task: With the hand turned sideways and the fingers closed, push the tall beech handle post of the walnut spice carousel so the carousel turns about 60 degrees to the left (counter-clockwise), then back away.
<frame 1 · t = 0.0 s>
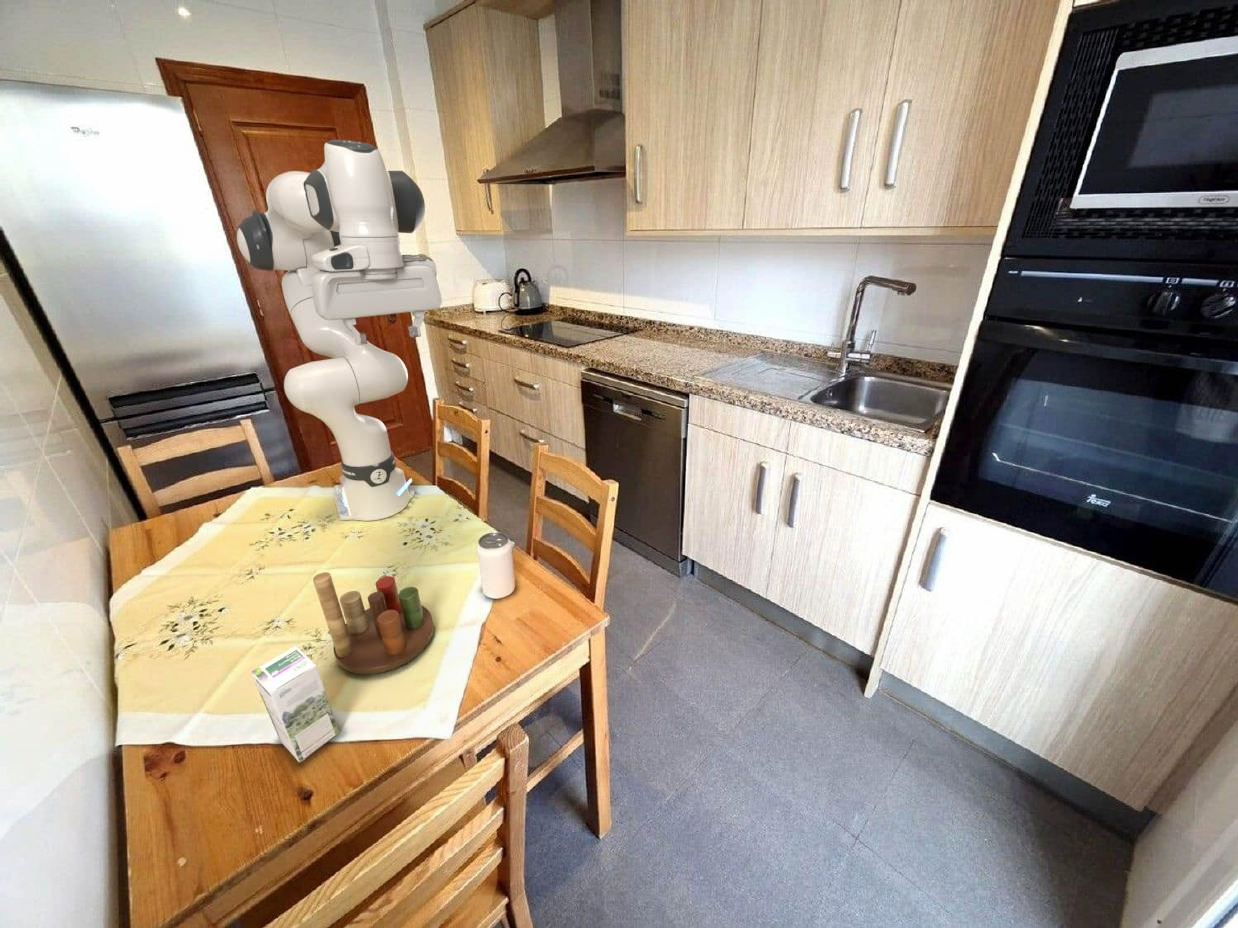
hand: (389, 340, 89), 48 cm above the table, tool pointing down, fingers open, 8 cm apart
carousel: (376, 600, 85), point 10 cm above the table, hinge at 0.0°
carousel base: (387, 642, 89), on the table
can: (499, 589, 102), on the table
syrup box: (311, 739, 72), on the table
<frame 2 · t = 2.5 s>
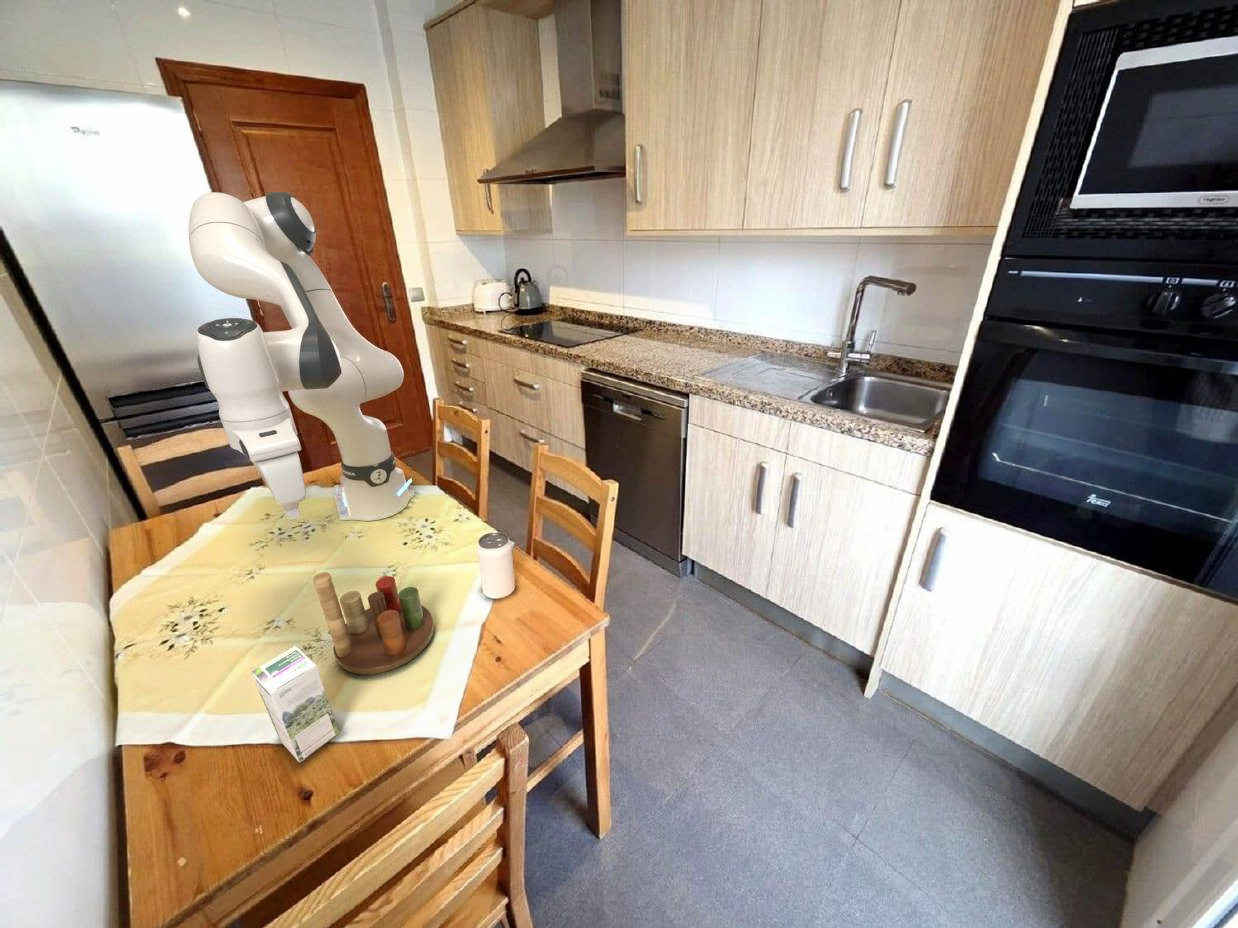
hand: (287, 506, 83), 24 cm above the table, tool pointing down, fingers open, 7 cm apart
nothing on the table moved.
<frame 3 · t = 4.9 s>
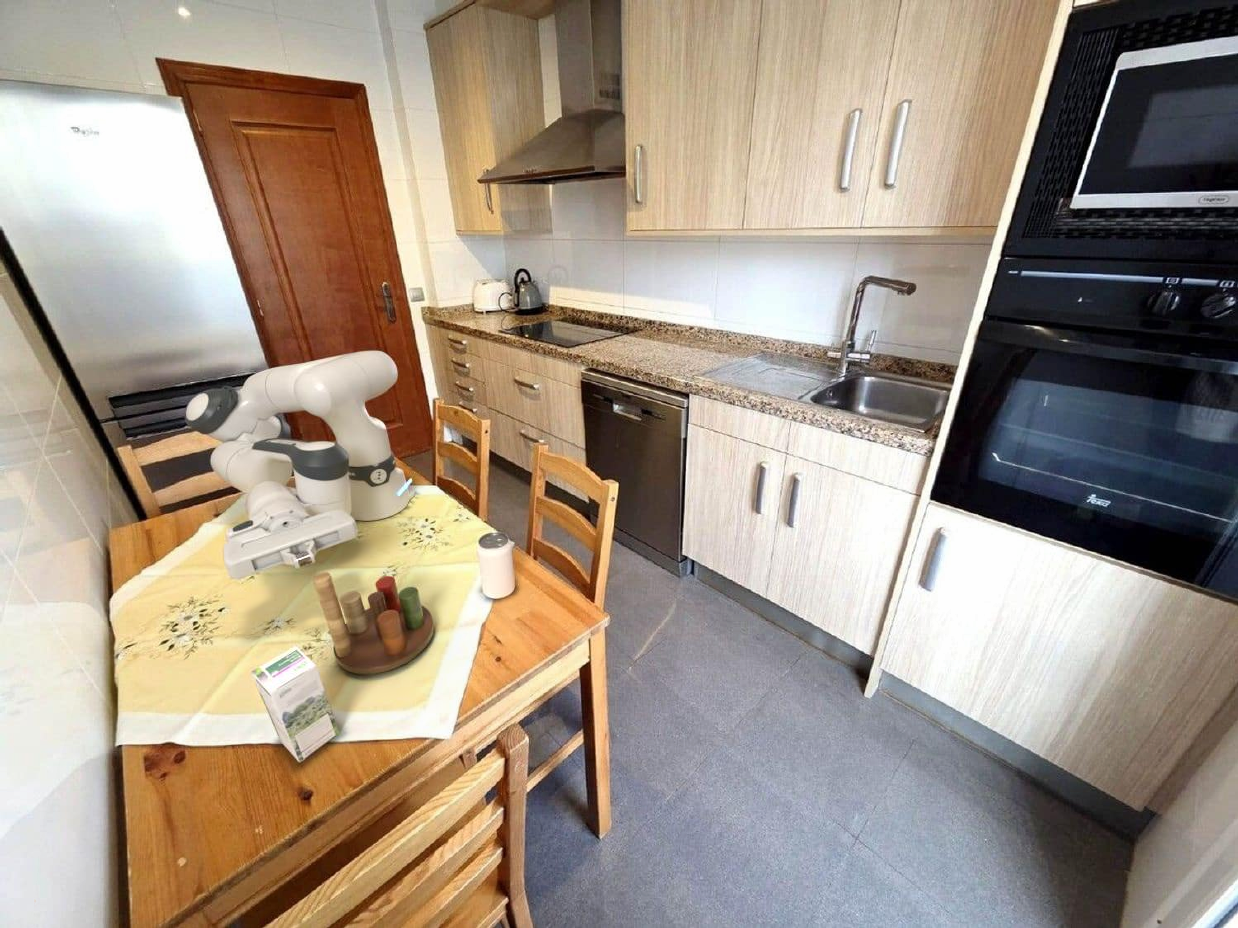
hand: (305, 562, 85), 15 cm above the table, tool horizontal, fingers closed
nothing on the table moved.
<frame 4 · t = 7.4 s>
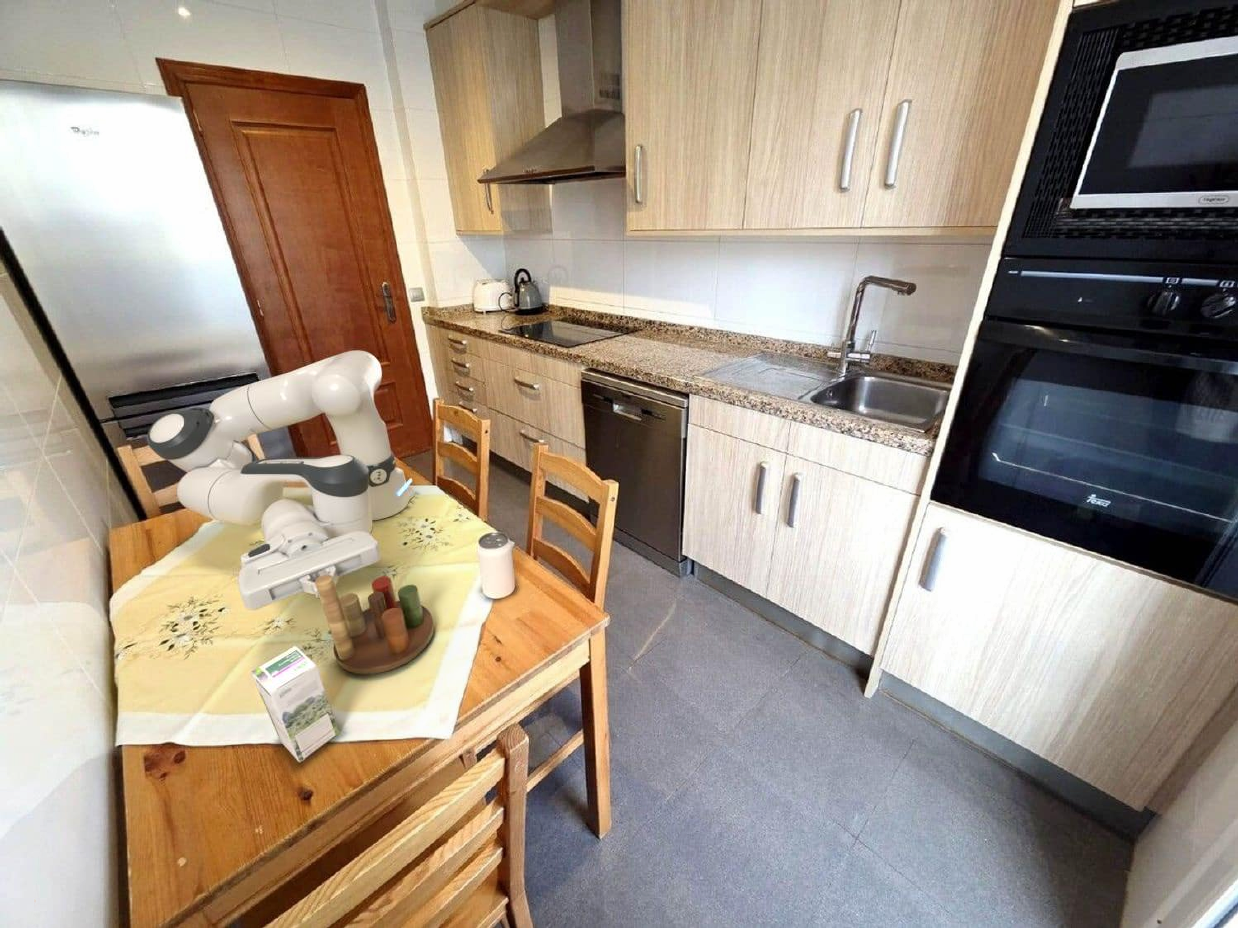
hand: (326, 591, 78), 15 cm above the table, tool horizontal, fingers closed, pressing on carousel
carousel: (376, 600, 85), point 10 cm above the table, hinge at 7.5°, touching gripper
everything else where it was.
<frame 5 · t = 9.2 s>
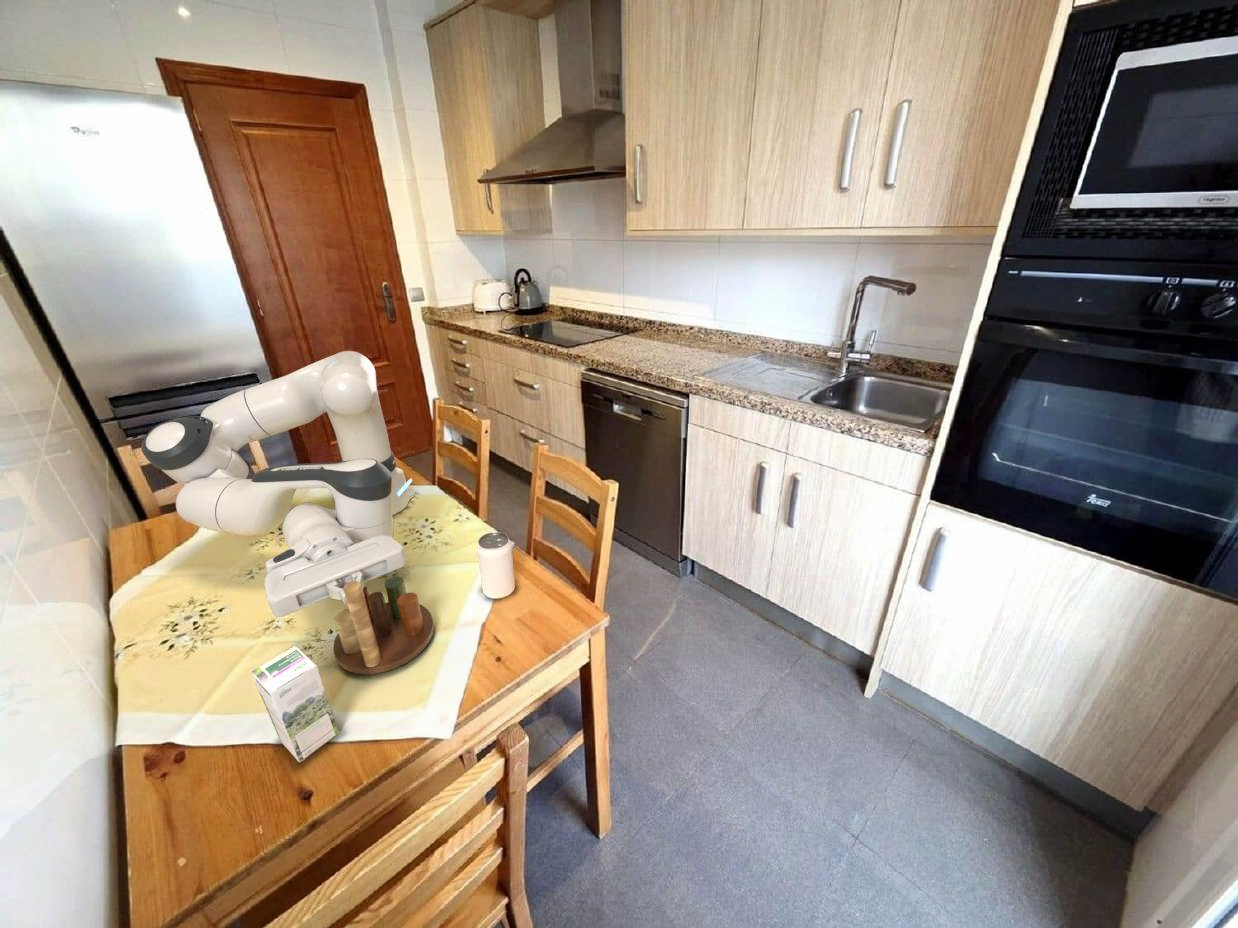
hand: (354, 597, 77), 15 cm above the table, tool horizontal, fingers closed
carousel: (376, 600, 85), point 10 cm above the table, hinge at 54.3°
everything else where it was.
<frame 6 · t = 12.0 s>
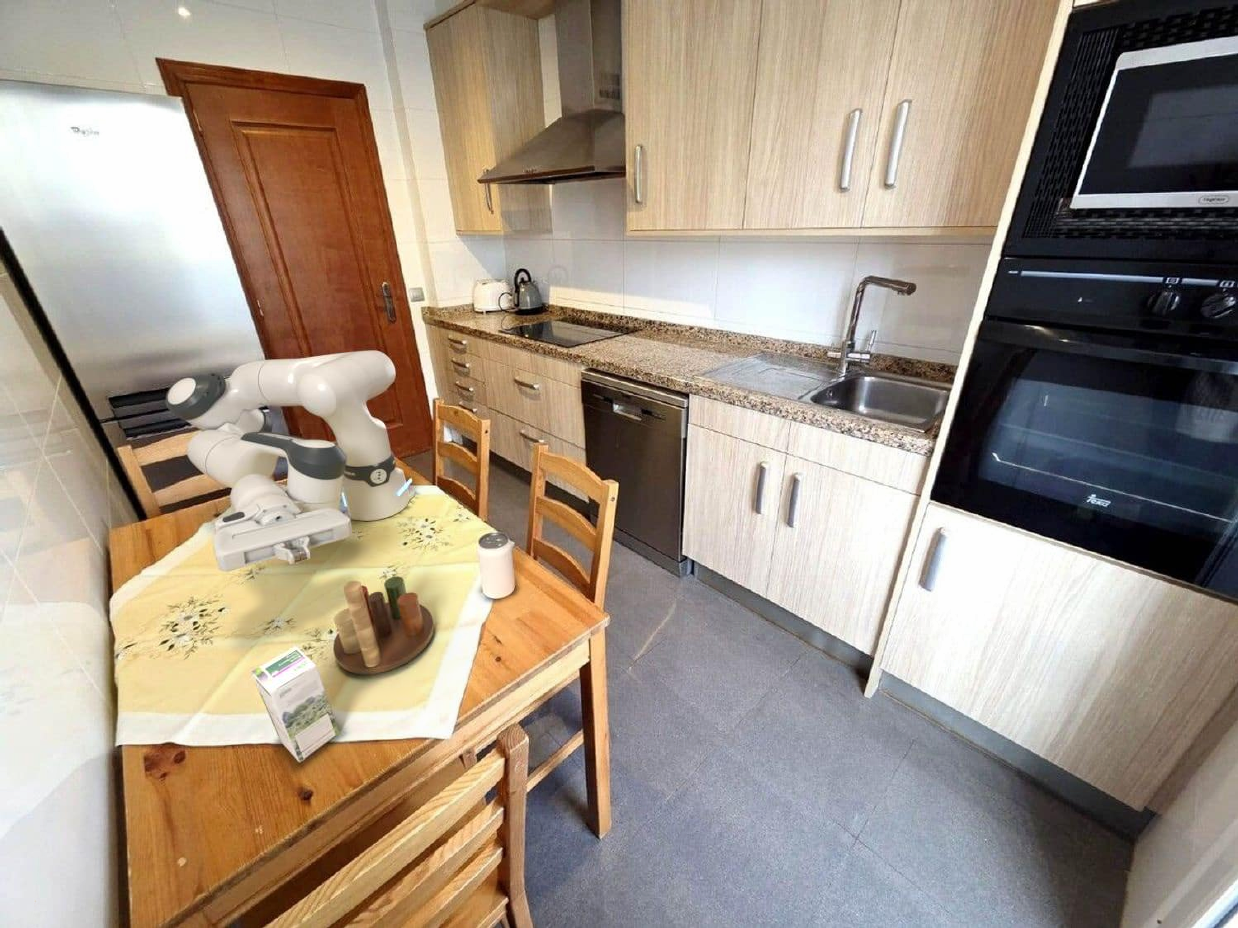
hand: (300, 558, 83), 16 cm above the table, tool horizontal, fingers closed
nothing on the table moved.
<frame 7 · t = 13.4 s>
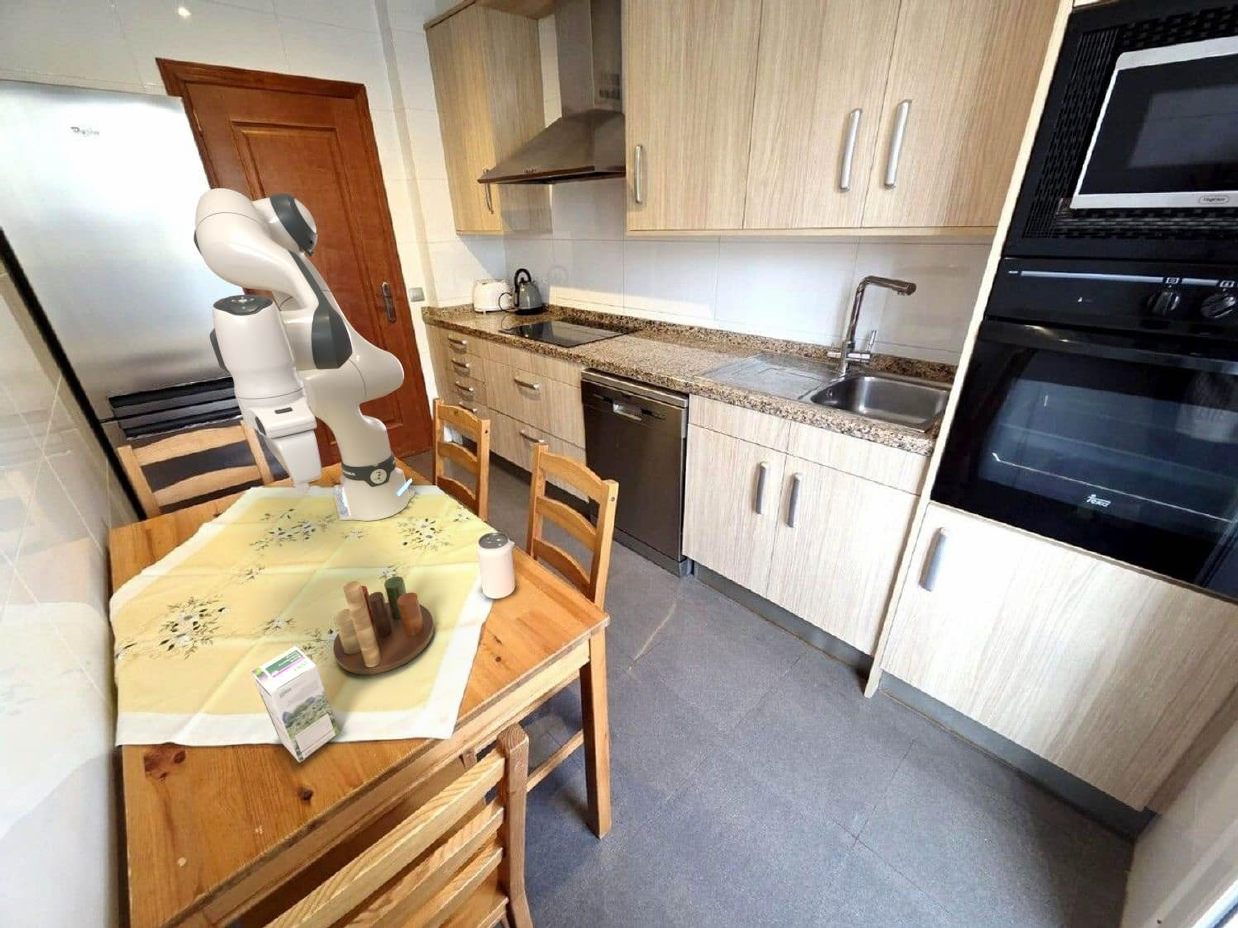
hand: (301, 487, 83), 27 cm above the table, tool pointing down, fingers closed
nothing on the table moved.
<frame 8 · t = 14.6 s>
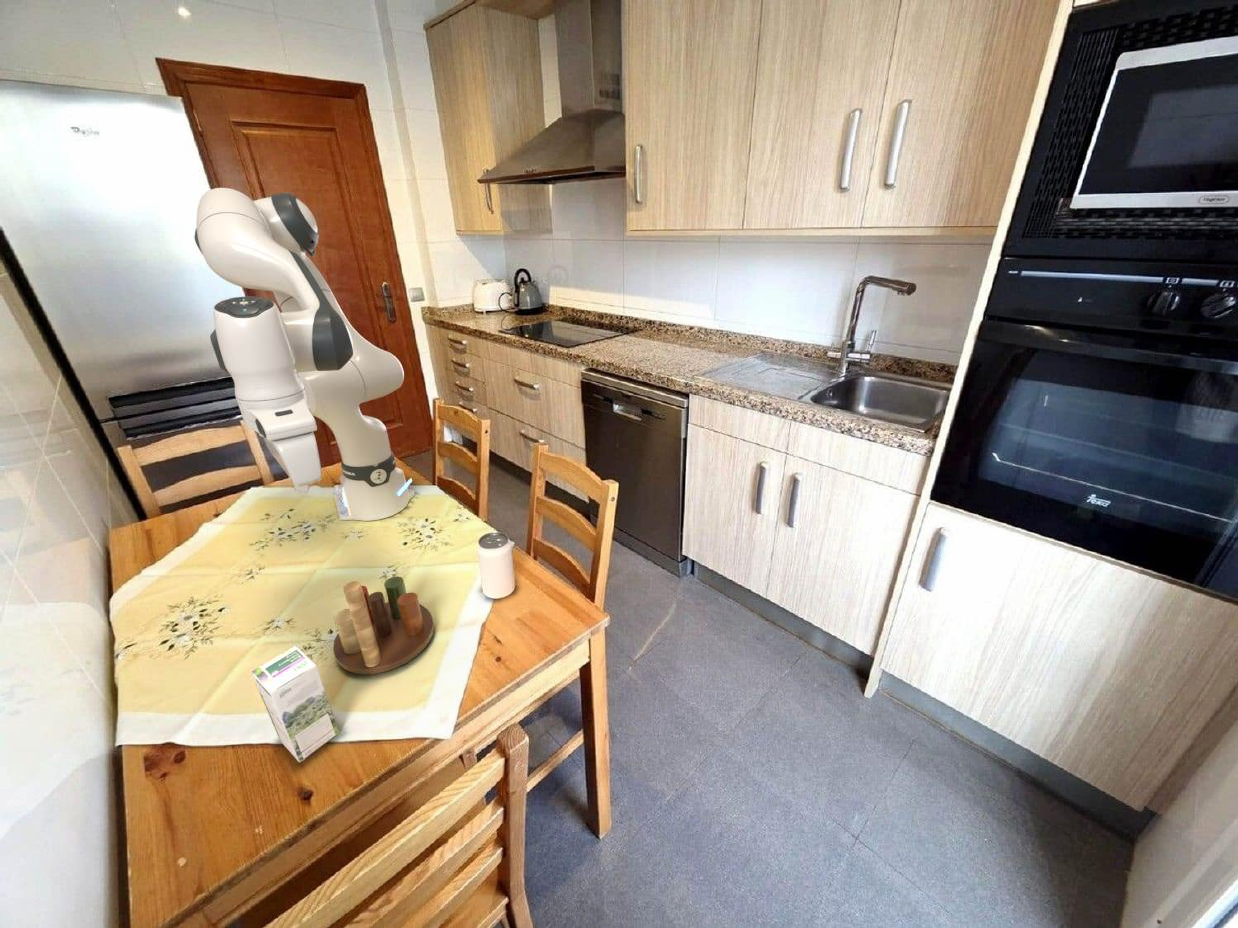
hand: (300, 489, 83), 27 cm above the table, tool pointing down, fingers closed
nothing on the table moved.
at the end: carousel at +54° (first picture: +0°); can moved 0.2 cm from its start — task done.
